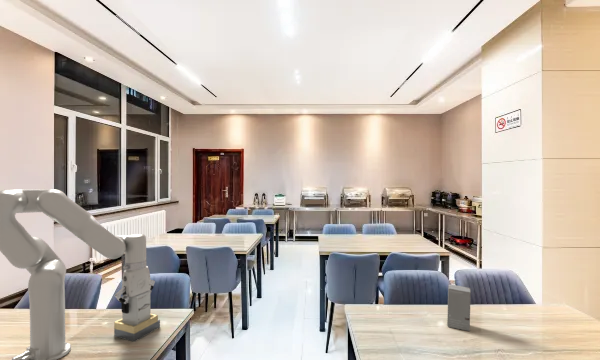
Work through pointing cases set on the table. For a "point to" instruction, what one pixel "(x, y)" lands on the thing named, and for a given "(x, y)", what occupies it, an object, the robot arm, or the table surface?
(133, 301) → the supplement box
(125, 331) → the gold-rimmed shallow tray
